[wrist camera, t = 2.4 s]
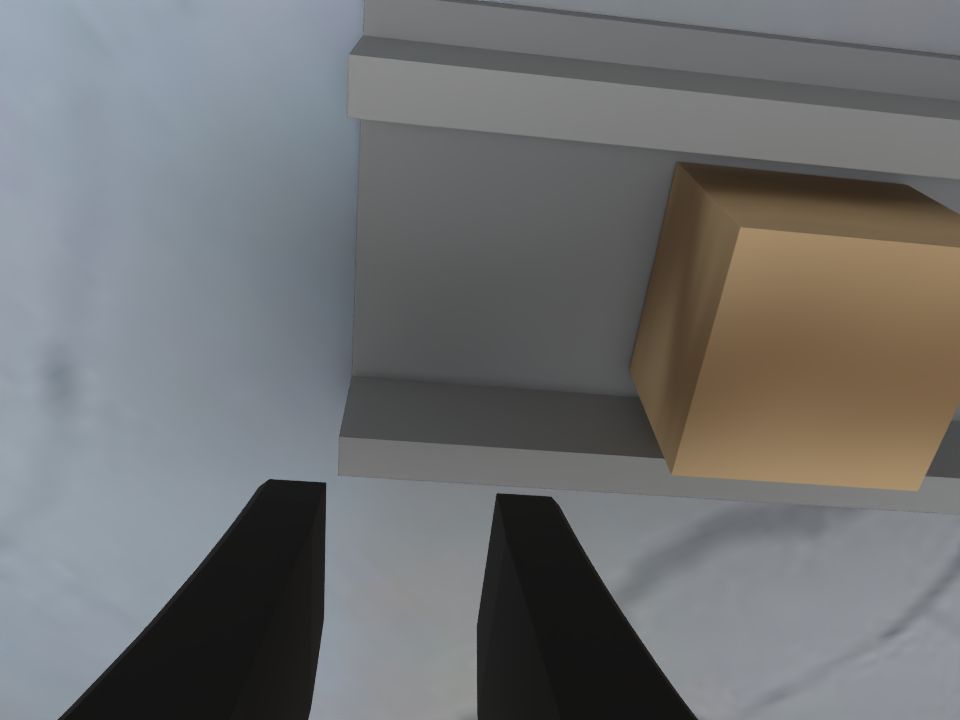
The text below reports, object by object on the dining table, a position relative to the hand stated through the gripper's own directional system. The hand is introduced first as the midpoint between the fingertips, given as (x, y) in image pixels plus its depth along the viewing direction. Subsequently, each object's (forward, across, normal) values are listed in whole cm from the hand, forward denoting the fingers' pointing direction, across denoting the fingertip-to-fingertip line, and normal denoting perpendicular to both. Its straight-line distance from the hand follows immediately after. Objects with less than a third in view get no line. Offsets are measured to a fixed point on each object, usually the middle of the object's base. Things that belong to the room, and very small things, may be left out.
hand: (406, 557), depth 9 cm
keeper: (+9, -7, 0) cm, 12 cm away
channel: (+10, -10, 0) cm, 15 cm away
